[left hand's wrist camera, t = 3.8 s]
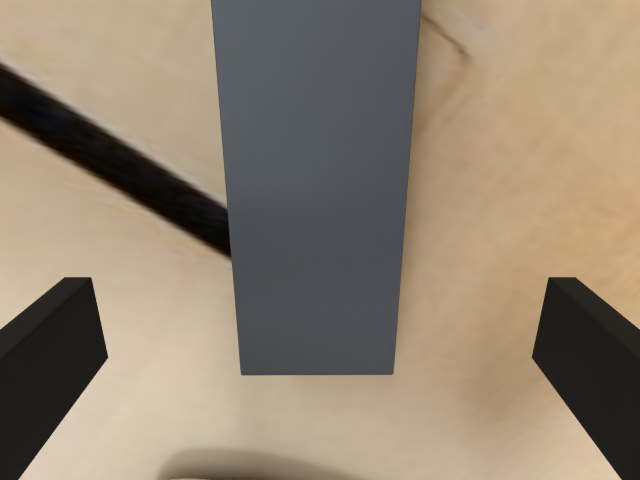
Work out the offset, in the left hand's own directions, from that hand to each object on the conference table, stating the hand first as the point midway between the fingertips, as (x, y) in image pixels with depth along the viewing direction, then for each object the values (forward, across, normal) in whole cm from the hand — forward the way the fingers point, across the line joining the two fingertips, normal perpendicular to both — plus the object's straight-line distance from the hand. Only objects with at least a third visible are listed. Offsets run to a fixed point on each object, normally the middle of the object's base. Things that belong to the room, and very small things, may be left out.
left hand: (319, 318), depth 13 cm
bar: (+11, 0, -35) cm, 37 cm away
